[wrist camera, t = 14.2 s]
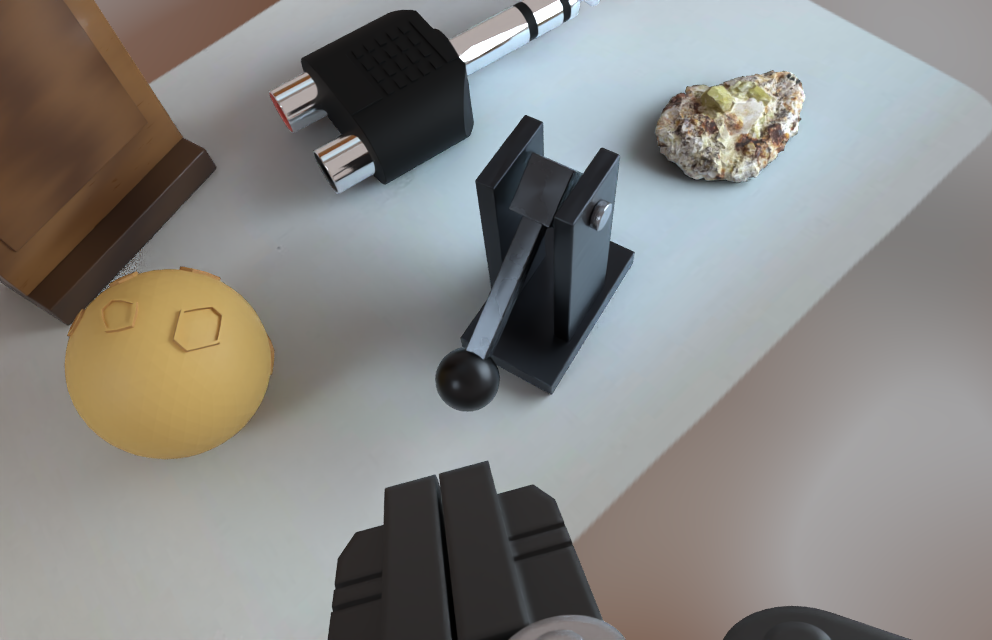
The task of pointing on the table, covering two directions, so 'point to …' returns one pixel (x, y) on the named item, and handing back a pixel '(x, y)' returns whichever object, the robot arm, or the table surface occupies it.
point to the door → (80, 155)
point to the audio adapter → (403, 87)
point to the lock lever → (505, 286)
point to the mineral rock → (731, 125)
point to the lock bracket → (551, 260)
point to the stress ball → (168, 363)
